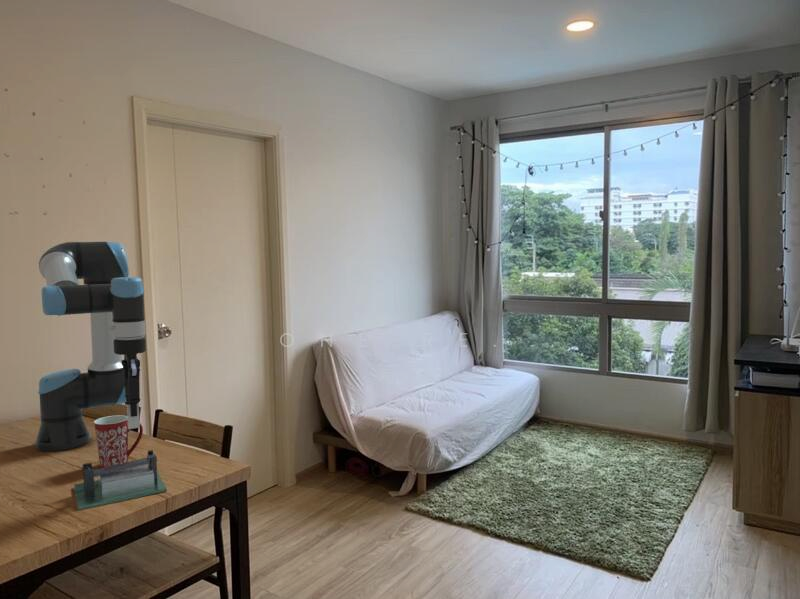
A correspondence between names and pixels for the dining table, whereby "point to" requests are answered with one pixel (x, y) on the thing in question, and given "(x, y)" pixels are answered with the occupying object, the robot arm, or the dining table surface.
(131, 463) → the strap
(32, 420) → the dining table surface
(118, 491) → the heatsink assembly
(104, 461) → the mug
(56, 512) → the dining table surface
